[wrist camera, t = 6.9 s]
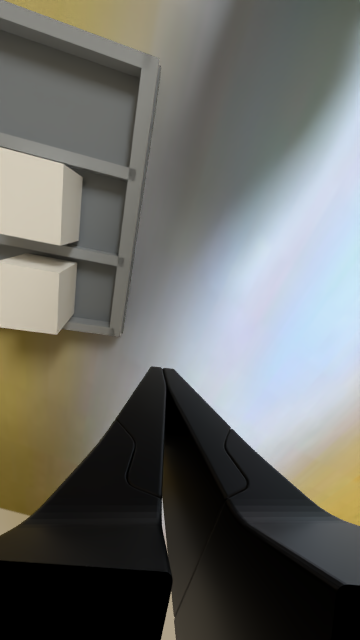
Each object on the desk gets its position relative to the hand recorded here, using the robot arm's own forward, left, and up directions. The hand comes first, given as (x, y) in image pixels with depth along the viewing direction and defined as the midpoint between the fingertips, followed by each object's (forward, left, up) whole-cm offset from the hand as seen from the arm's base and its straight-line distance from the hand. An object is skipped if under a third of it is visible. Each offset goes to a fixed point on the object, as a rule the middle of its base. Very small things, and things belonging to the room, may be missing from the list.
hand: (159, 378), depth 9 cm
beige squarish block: (+7, -5, -9) cm, 13 cm away
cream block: (+7, 0, -9) cm, 12 cm away
